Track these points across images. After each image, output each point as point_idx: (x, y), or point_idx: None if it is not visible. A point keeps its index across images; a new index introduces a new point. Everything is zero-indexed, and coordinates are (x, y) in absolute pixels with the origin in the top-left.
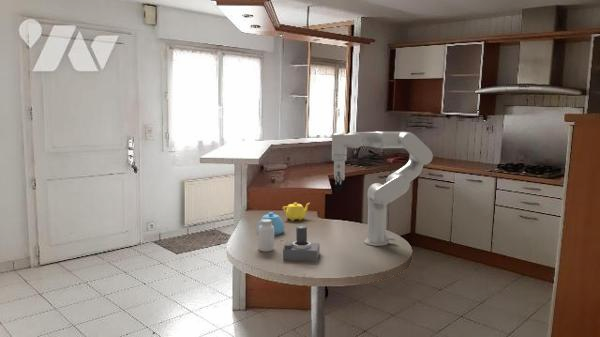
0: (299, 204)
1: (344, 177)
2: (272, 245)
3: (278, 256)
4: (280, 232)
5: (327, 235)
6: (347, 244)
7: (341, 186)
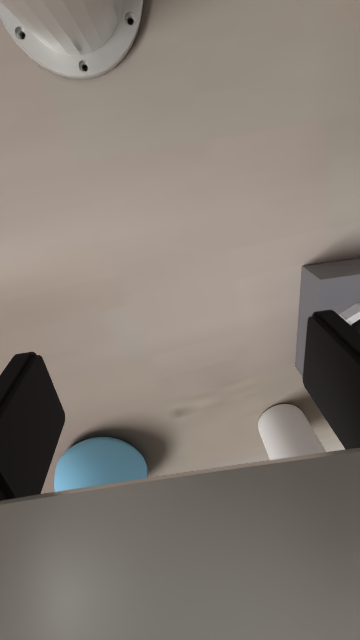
0: None
1: (164, 524)
2: (297, 415)
3: None
4: (116, 440)
5: (54, 291)
6: (159, 172)
7: (30, 384)
